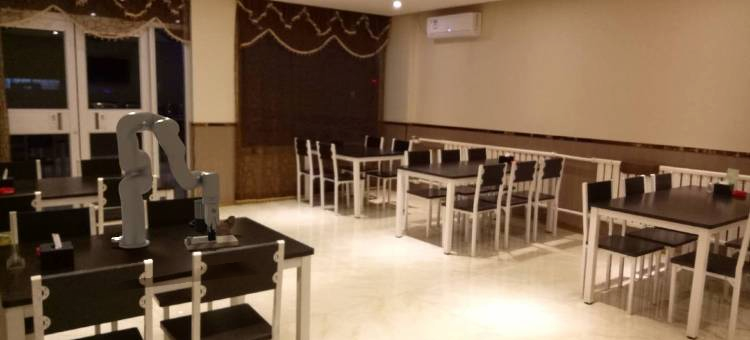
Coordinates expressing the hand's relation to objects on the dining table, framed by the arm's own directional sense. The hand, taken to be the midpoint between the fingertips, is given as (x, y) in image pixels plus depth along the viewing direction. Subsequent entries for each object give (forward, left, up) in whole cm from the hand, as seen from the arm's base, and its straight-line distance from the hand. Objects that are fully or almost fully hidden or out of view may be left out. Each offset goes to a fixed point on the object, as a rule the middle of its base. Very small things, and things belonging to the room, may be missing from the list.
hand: (211, 240), depth 253 cm
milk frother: (+1, +42, -4) cm, 42 cm away
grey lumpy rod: (-4, +3, -1) cm, 5 cm away
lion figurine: (+9, +23, -4) cm, 25 cm away
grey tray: (+1, +7, -4) cm, 8 cm away
